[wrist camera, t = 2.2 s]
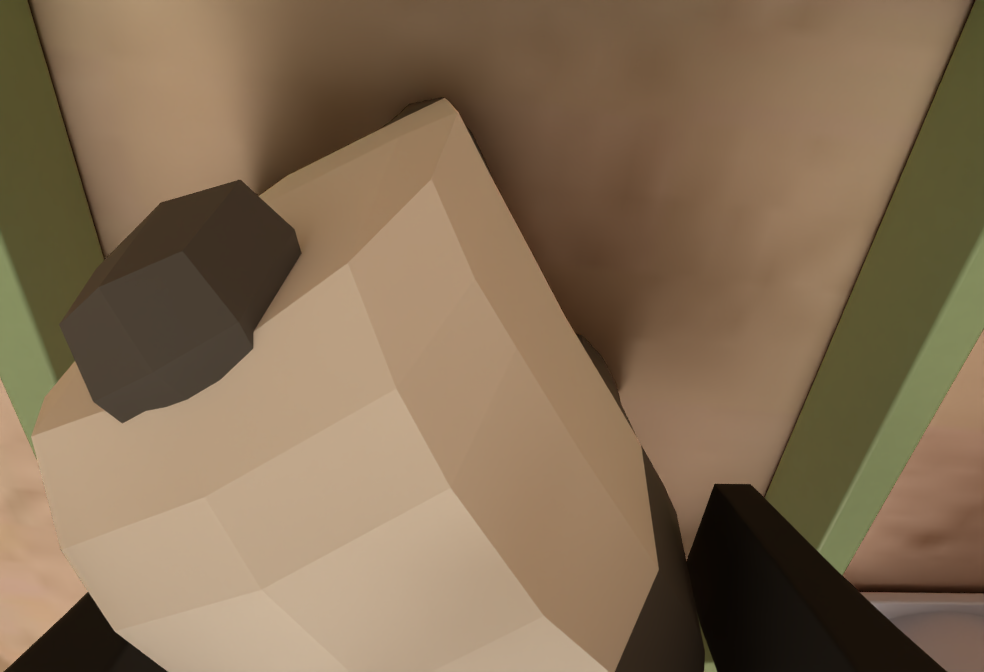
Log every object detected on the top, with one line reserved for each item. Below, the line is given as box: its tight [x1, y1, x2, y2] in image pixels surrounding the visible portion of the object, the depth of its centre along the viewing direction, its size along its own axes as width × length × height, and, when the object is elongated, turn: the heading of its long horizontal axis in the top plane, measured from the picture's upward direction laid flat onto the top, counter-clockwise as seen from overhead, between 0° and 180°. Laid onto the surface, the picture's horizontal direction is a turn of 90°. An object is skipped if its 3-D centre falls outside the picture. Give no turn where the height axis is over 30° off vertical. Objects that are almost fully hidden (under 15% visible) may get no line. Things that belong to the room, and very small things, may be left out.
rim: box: [0, 0, 984, 672], centre depth 13 cm, size 18×18×2 cm
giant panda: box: [31, 97, 705, 672], centre depth 10 cm, size 15×6×10 cm, turn 29°
